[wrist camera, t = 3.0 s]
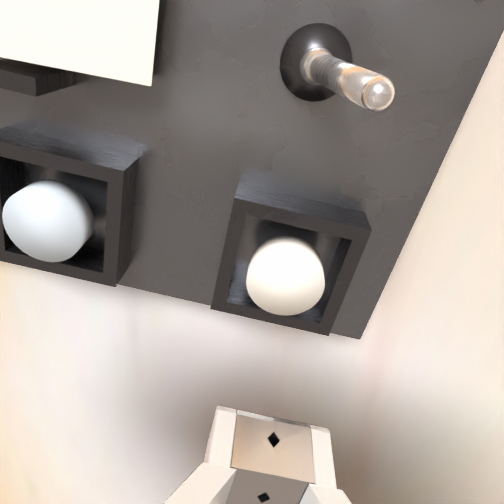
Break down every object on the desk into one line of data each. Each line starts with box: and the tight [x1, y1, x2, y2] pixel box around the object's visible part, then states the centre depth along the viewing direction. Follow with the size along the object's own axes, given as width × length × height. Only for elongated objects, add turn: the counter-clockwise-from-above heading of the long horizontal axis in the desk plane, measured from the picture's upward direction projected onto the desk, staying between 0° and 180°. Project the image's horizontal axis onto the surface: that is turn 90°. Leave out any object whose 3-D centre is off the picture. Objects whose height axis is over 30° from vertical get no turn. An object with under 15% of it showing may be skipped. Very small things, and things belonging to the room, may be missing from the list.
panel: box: [0, 0, 504, 339], centre depth 17 cm, size 22×16×6 cm
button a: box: [246, 236, 325, 316], centre depth 17 cm, size 3×3×1 cm
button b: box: [2, 179, 94, 262], centre depth 17 cm, size 3×3×1 cm
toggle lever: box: [299, 47, 395, 112], centre depth 13 cm, size 1×1×5 cm
